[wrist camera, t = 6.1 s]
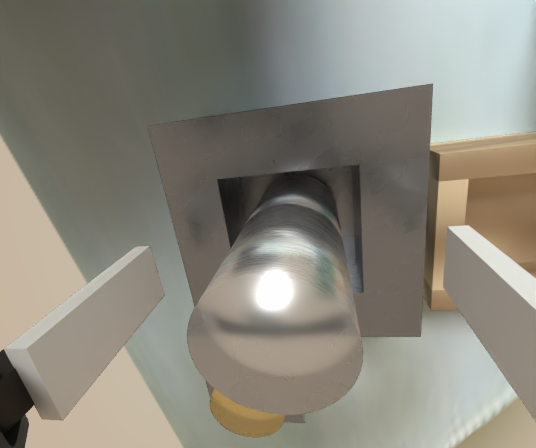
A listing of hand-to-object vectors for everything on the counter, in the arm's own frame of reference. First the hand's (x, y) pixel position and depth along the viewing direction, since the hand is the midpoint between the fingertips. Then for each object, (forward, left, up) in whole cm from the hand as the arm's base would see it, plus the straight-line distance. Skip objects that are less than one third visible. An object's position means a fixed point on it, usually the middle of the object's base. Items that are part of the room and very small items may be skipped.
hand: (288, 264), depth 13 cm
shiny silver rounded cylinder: (0, 0, -7) cm, 7 cm away
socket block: (+3, 0, -10) cm, 10 cm away
